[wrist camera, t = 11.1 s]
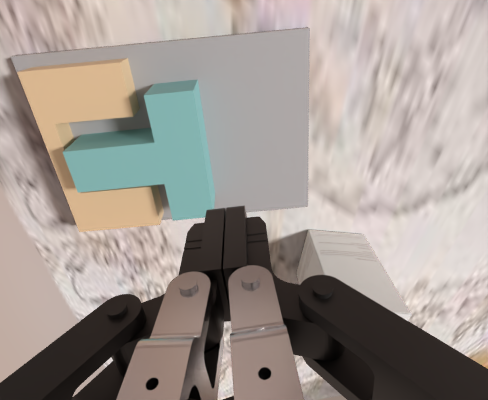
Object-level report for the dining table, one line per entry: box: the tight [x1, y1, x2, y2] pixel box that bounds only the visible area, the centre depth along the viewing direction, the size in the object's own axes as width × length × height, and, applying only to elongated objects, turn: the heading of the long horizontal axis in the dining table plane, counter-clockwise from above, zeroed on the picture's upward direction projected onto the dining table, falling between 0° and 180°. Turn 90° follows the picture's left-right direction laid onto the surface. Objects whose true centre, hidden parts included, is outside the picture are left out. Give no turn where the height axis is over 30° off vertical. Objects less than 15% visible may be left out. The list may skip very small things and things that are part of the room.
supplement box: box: [296, 230, 412, 321], centre depth 38 cm, size 7×7×13 cm
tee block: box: [63, 79, 215, 220], centre depth 33 cm, size 12×12×4 cm
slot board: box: [11, 27, 310, 232], centre depth 34 cm, size 26×18×4 cm
